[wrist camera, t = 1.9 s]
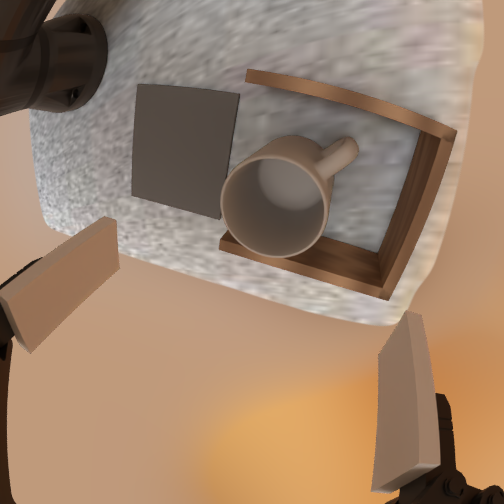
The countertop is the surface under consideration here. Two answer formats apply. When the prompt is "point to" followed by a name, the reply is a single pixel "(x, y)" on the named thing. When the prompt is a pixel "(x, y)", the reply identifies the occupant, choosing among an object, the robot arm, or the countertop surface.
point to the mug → (283, 194)
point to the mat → (182, 146)
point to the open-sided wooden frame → (405, 215)
